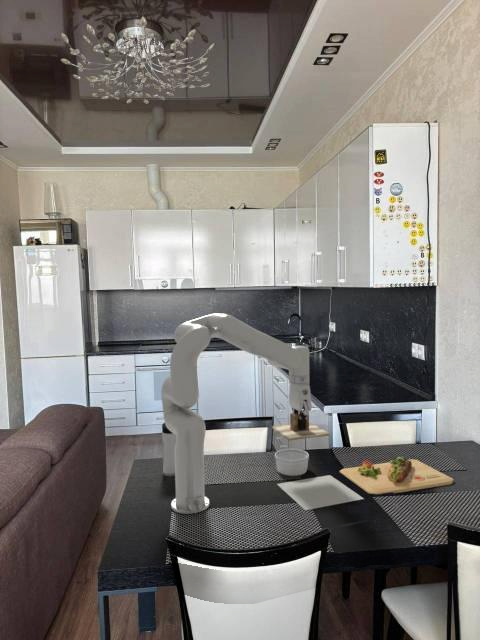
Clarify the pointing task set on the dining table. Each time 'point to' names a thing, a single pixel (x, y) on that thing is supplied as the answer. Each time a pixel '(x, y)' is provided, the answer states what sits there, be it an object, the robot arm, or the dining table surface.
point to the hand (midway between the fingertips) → (299, 427)
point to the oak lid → (293, 433)
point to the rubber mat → (319, 492)
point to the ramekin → (291, 461)
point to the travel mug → (168, 451)
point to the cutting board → (395, 476)
